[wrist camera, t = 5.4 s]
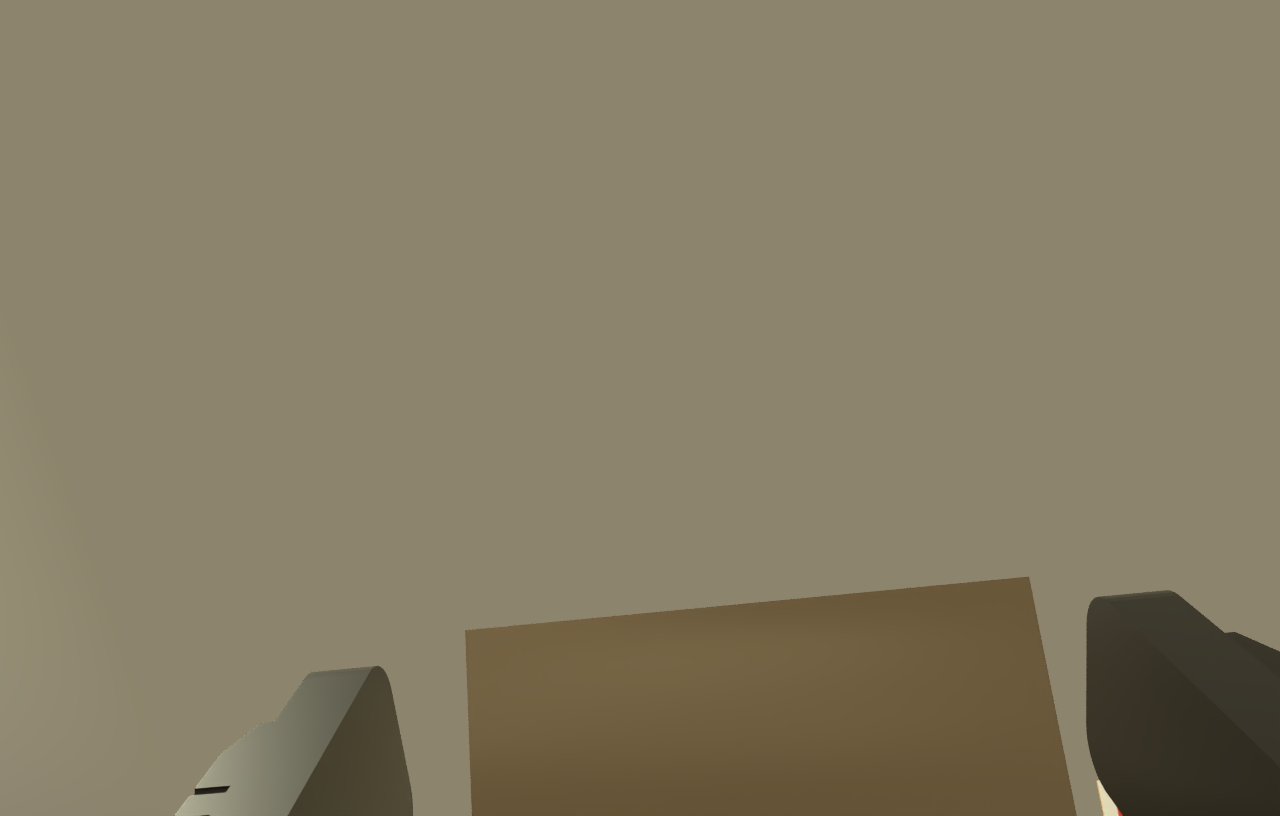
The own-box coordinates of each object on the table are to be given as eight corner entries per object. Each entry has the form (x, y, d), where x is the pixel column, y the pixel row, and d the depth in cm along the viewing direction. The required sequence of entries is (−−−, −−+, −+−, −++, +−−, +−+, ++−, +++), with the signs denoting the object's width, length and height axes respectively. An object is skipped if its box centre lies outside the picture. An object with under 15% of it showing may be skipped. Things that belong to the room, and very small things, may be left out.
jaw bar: (1165, 1268, 5) (1028, 576, 6) (490, 1308, 5) (466, 630, 6) (785, 767, 30) (771, 653, 31) (675, 777, 30) (664, 663, 31)
